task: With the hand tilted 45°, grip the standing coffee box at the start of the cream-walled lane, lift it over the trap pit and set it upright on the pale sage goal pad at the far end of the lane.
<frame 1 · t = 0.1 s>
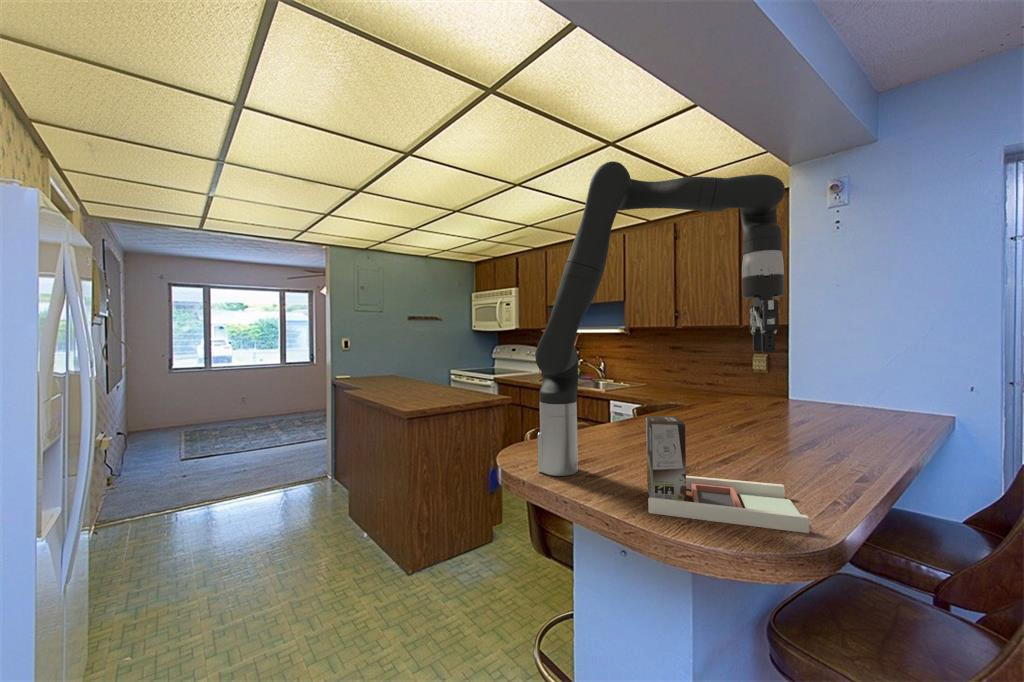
hand: (763, 352, 86), 29 cm above the table, tool pointing down, fingers open, 8 cm apart
goal pad: (771, 510, 76), on the table
coffee box: (666, 499, 82), on the table
trap pit: (715, 504, 79), on the table
walled lane: (718, 504, 79), on the table
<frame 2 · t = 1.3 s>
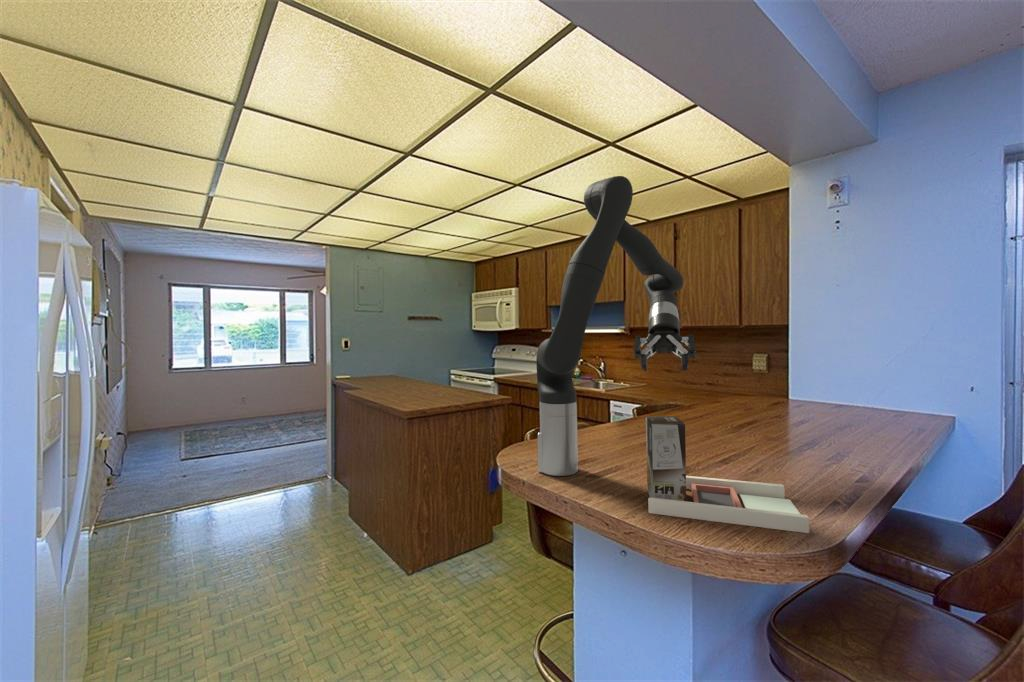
hand: (664, 369, 96), 25 cm above the table, tool tilted 45°, fingers open, 8 cm apart
nothing on the table moved.
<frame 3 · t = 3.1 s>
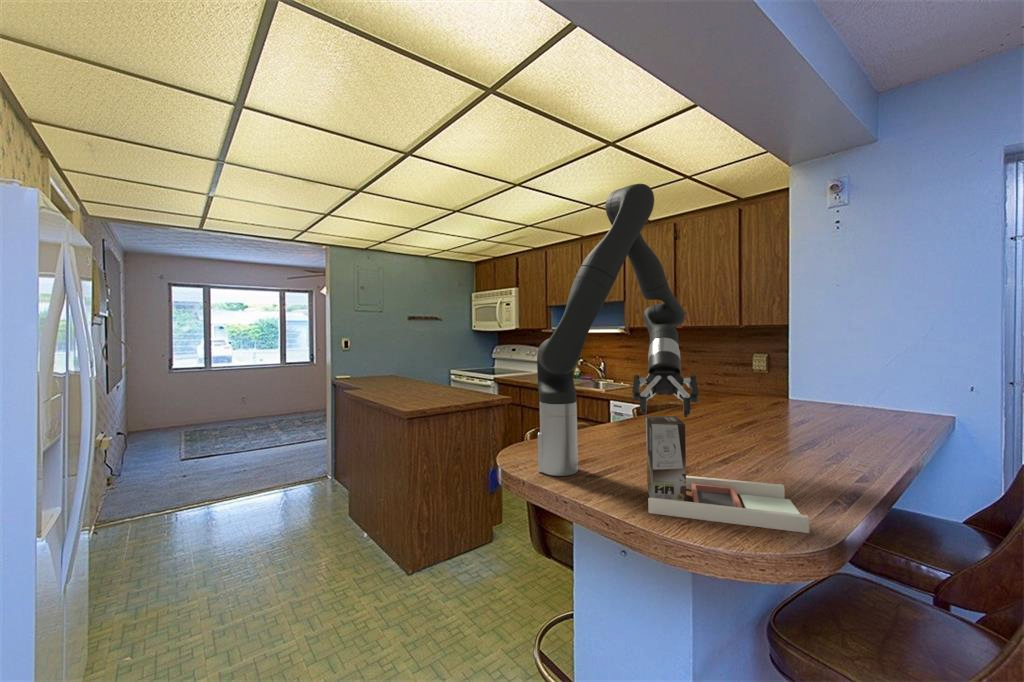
hand: (664, 414, 91), 16 cm above the table, tool tilted 45°, fingers open, 8 cm apart
nothing on the table moved.
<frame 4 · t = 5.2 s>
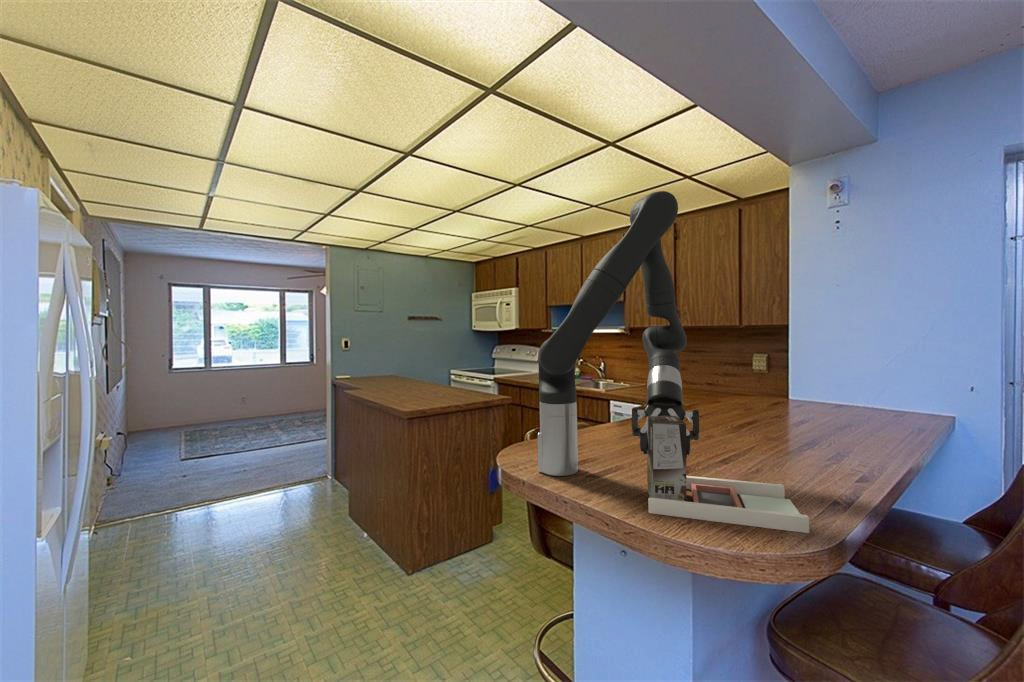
hand: (664, 453, 83), 9 cm above the table, tool tilted 45°, fingers closed on coffee box, 7 cm apart
coffee box: (666, 499, 82), on the table, touching gripper
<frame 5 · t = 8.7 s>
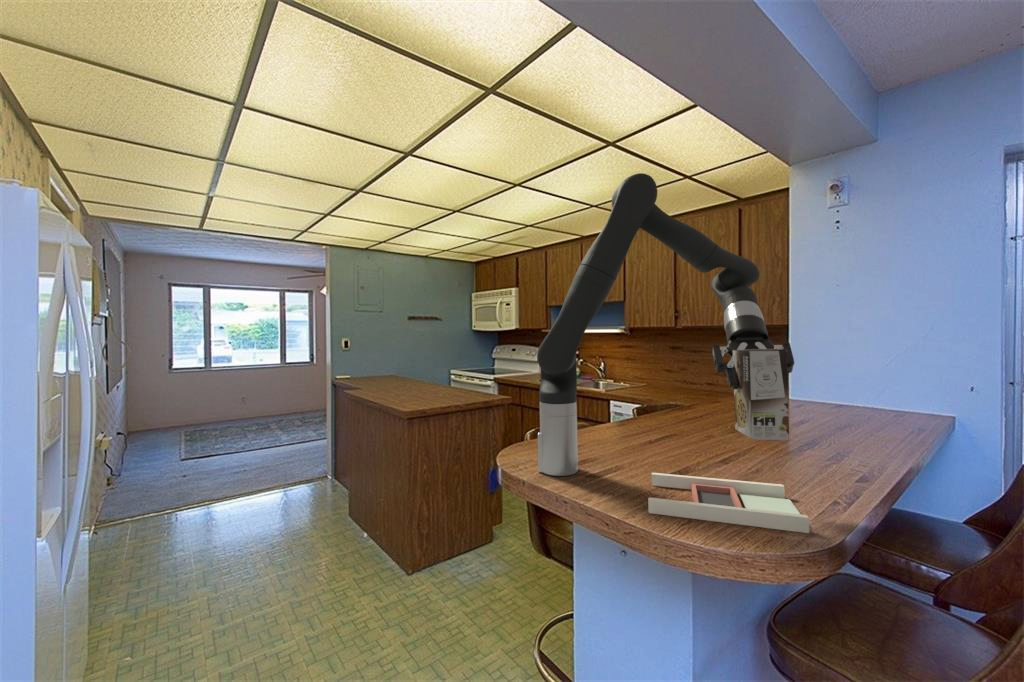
hand: (758, 386, 77), 23 cm above the table, tool tilted 45°, fingers closed on coffee box, 7 cm apart
coffee box: (760, 435, 77), point 14 cm above the table, touching gripper
when the fingers open (11 cm above the table, at t = 11.8 s): coffee box drops 1 cm, resting on goal pad.
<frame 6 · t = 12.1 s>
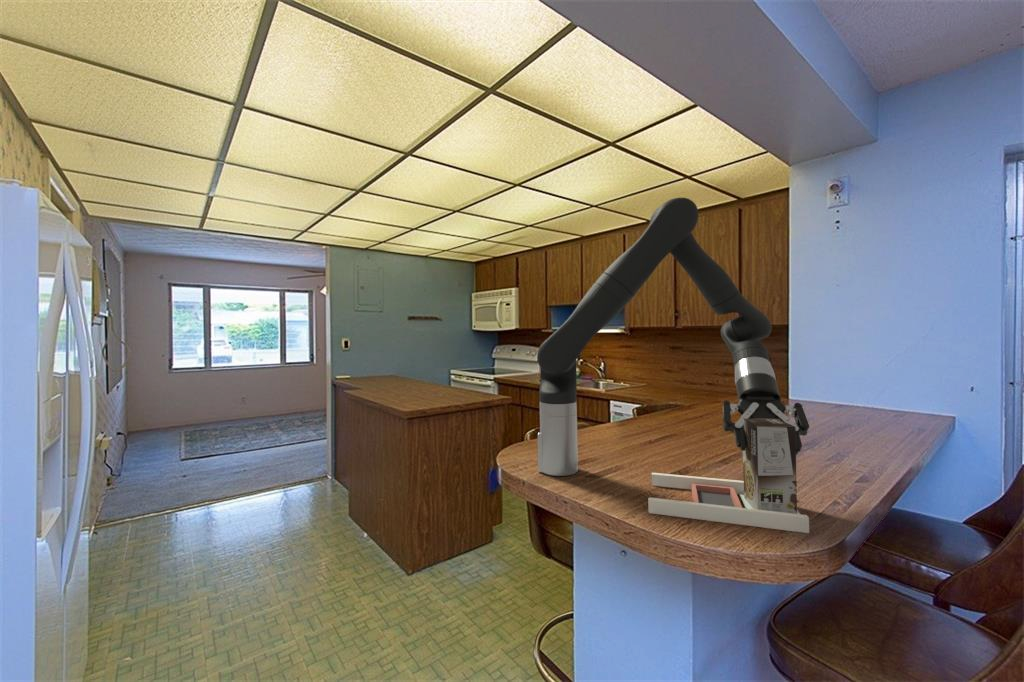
hand: (769, 450, 76), 11 cm above the table, tool tilted 45°, fingers open, 8 cm apart
coffee box: (769, 508, 76), resting on goal pad
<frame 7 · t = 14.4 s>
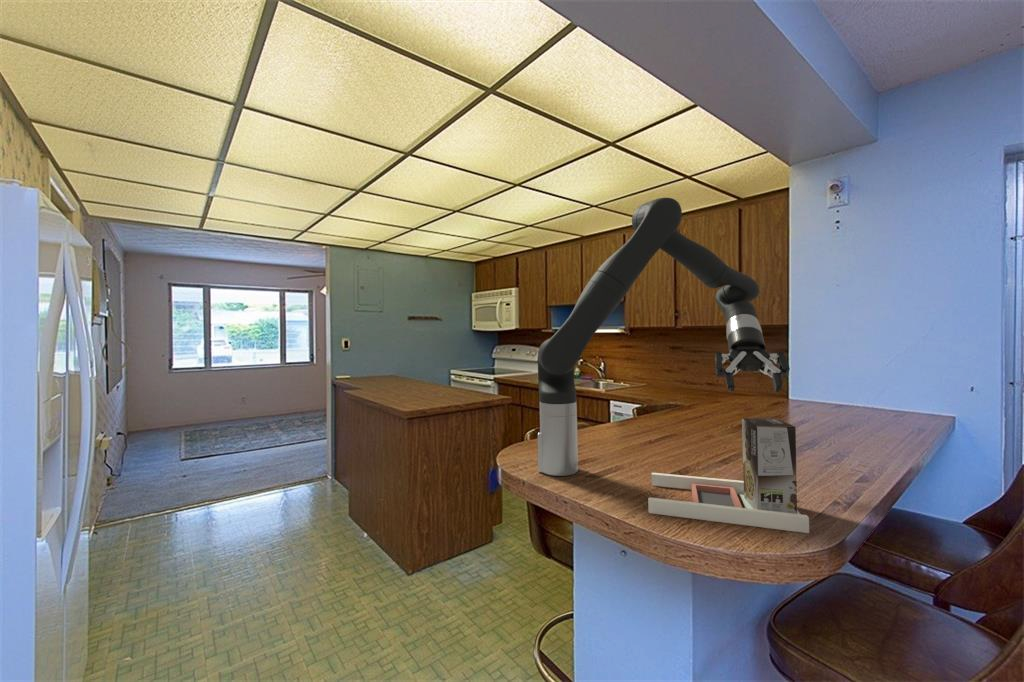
hand: (754, 389, 88), 21 cm above the table, tool tilted 45°, fingers open, 8 cm apart
nothing on the table moved.
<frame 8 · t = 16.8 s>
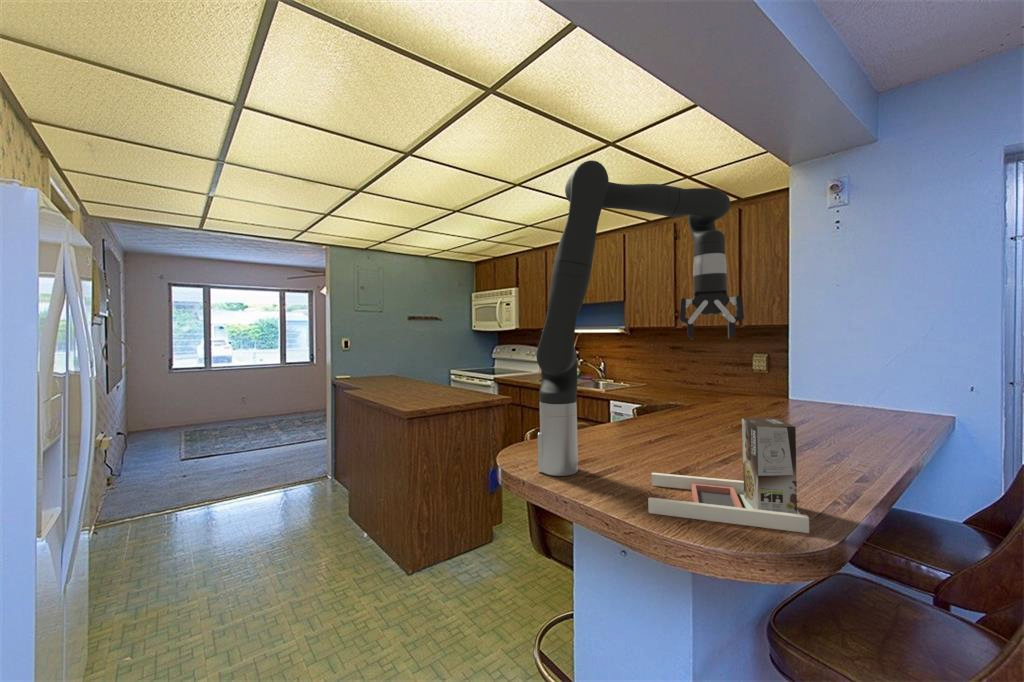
hand: (711, 338, 102), 32 cm above the table, tool pointing down, fingers open, 8 cm apart
nothing on the table moved.
at the end: coffee box inside the target area on the goal pad (0.5 cm from its centre), point 0.2 cm above the goal pad's base; coffee box tilted 0°; coffee box touching goal pad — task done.
